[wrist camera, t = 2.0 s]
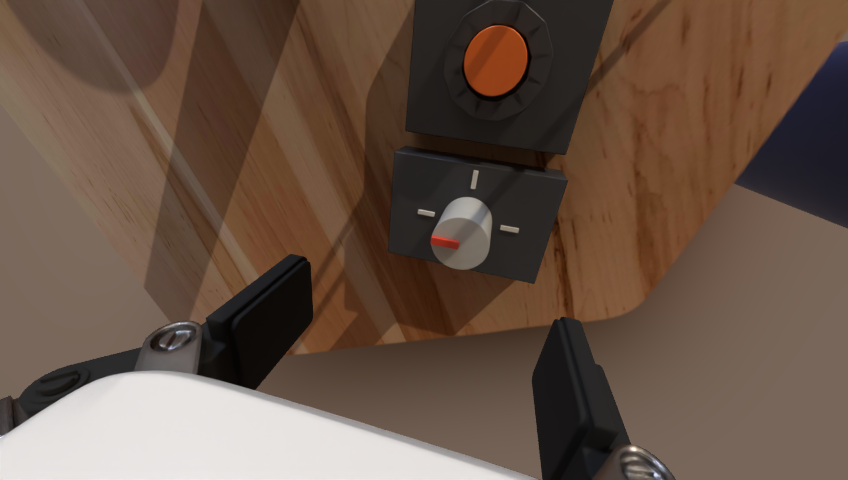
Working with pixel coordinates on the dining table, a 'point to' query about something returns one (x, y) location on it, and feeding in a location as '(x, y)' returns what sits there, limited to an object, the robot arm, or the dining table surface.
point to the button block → (535, 92)
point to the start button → (495, 60)
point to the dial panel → (486, 181)
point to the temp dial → (463, 234)
